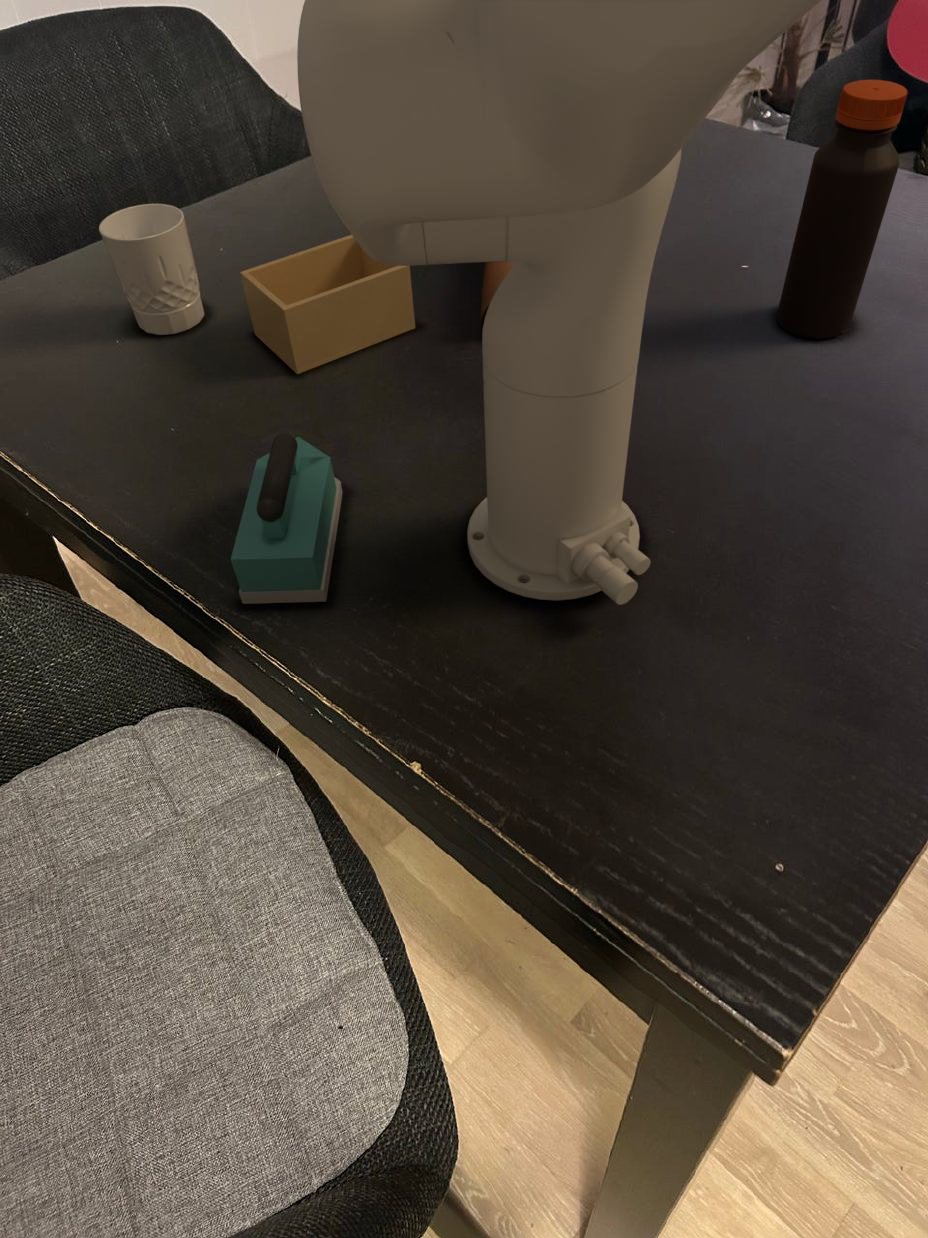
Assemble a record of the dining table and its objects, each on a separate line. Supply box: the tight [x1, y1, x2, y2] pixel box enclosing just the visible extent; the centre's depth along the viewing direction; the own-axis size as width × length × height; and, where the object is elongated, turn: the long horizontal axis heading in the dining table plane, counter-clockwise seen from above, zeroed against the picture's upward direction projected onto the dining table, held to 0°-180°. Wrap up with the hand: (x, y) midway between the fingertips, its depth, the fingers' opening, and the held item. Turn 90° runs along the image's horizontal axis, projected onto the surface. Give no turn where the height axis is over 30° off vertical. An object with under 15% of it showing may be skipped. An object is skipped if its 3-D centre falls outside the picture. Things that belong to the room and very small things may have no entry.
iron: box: [230, 432, 343, 605], centre depth 64 cm, size 15×6×8 cm, turn 0°
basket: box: [239, 234, 416, 375], centre depth 85 cm, size 9×13×6 cm
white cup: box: [98, 203, 205, 336], centre depth 86 cm, size 8×8×10 cm
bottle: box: [776, 79, 909, 340], centre depth 77 cm, size 7×7×20 cm
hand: (537, 11), depth 59 cm, fingers open, 9 cm apart
